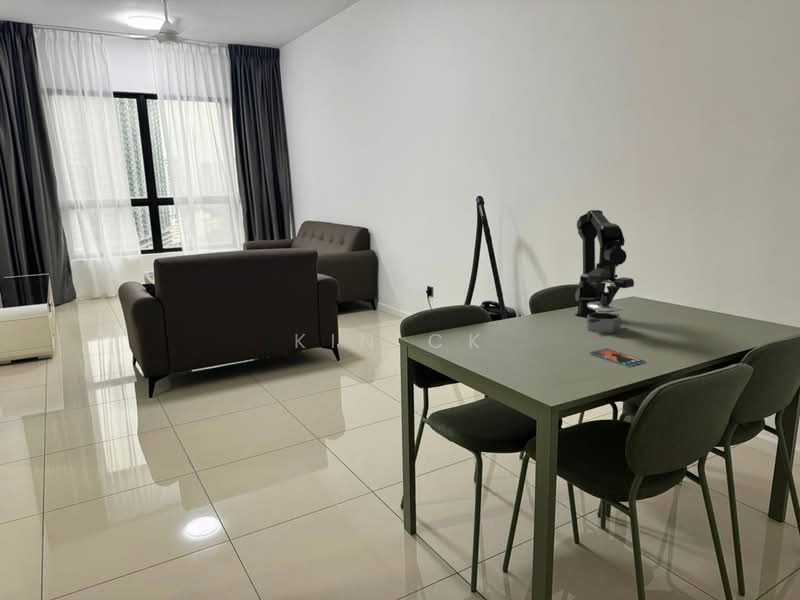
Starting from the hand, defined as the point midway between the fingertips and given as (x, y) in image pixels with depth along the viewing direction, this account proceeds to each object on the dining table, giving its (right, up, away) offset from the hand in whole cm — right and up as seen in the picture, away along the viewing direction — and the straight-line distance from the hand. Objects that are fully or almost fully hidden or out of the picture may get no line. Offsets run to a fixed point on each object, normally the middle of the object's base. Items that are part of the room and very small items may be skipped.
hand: (604, 303), depth 204 cm
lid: (0, -2, 0) cm, 3 cm away
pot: (0, -10, +2) cm, 10 cm away
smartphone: (-8, -17, -31) cm, 36 cm away
